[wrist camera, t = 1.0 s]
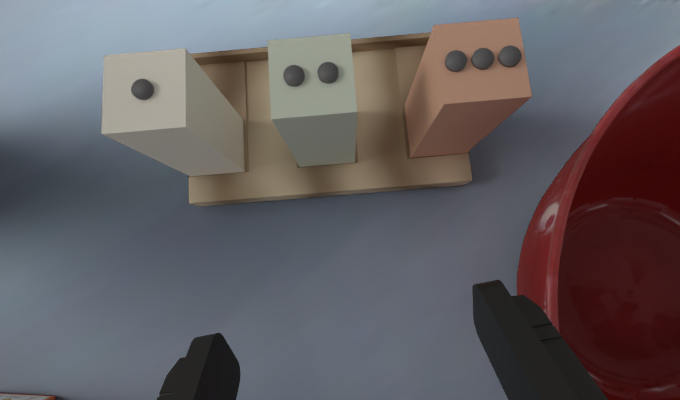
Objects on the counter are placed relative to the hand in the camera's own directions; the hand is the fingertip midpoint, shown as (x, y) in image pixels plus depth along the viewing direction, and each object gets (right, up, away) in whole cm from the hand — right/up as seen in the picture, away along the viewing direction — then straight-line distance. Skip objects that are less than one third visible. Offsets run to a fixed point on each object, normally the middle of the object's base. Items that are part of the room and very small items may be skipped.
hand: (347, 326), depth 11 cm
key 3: (+8, +10, +17) cm, 21 cm away
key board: (-2, +10, +20) cm, 22 cm away
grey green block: (-1, +9, +17) cm, 19 cm away
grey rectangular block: (-10, +8, +17) cm, 22 cm away
